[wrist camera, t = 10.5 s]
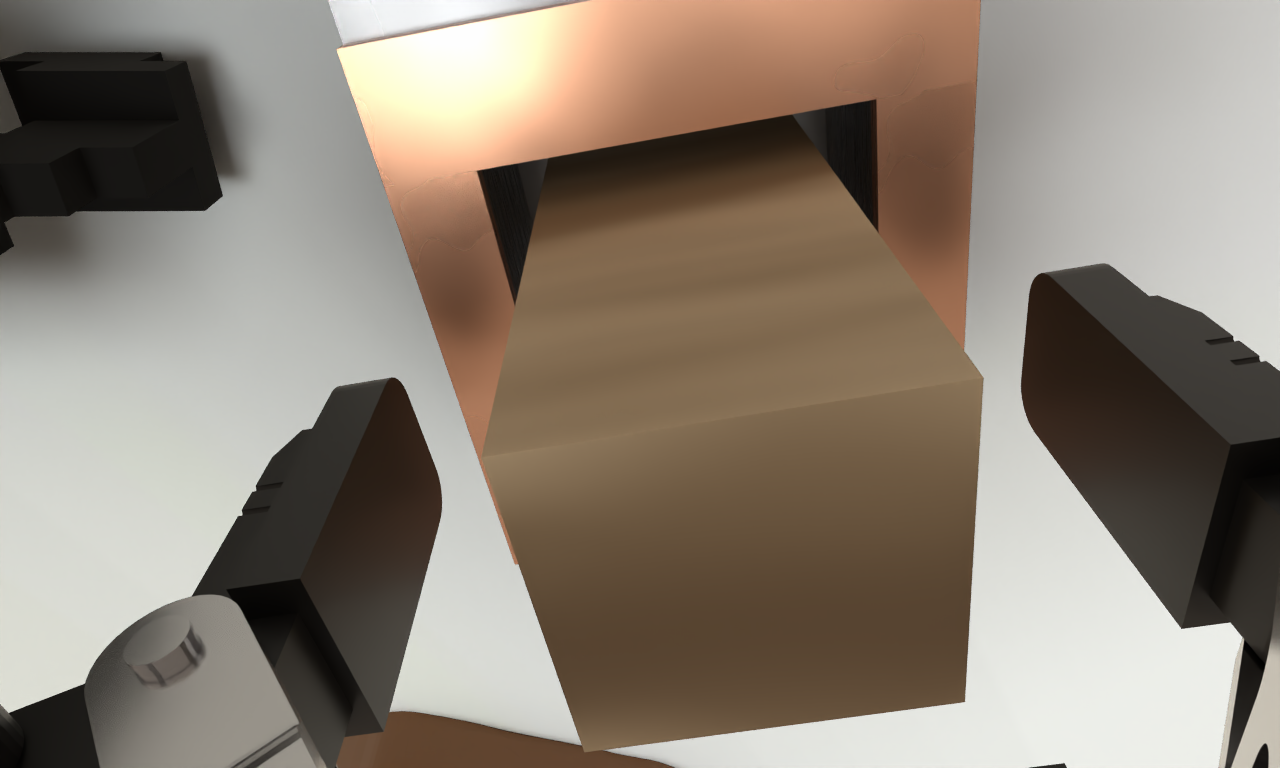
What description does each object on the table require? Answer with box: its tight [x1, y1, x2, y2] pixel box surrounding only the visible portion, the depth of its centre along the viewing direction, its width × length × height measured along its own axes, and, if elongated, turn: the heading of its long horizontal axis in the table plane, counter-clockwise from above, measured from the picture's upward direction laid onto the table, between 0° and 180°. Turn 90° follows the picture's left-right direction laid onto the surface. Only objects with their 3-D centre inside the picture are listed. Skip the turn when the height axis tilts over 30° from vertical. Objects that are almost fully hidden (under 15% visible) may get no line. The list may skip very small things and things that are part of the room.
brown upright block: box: [481, 114, 983, 752], centre depth 11 cm, size 4×4×9 cm
